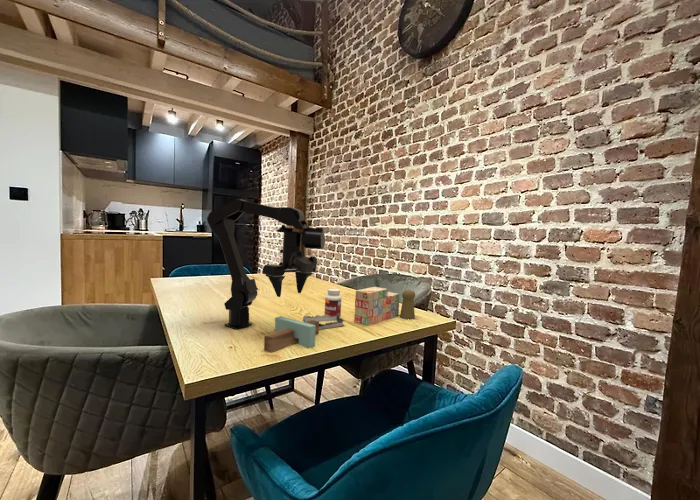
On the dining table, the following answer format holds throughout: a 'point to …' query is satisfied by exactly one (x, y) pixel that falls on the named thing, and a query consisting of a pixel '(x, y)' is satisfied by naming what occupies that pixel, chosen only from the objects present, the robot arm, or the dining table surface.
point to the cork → (408, 305)
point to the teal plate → (298, 330)
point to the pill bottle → (333, 303)
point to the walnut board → (284, 338)
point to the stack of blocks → (375, 305)
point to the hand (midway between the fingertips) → (289, 294)
